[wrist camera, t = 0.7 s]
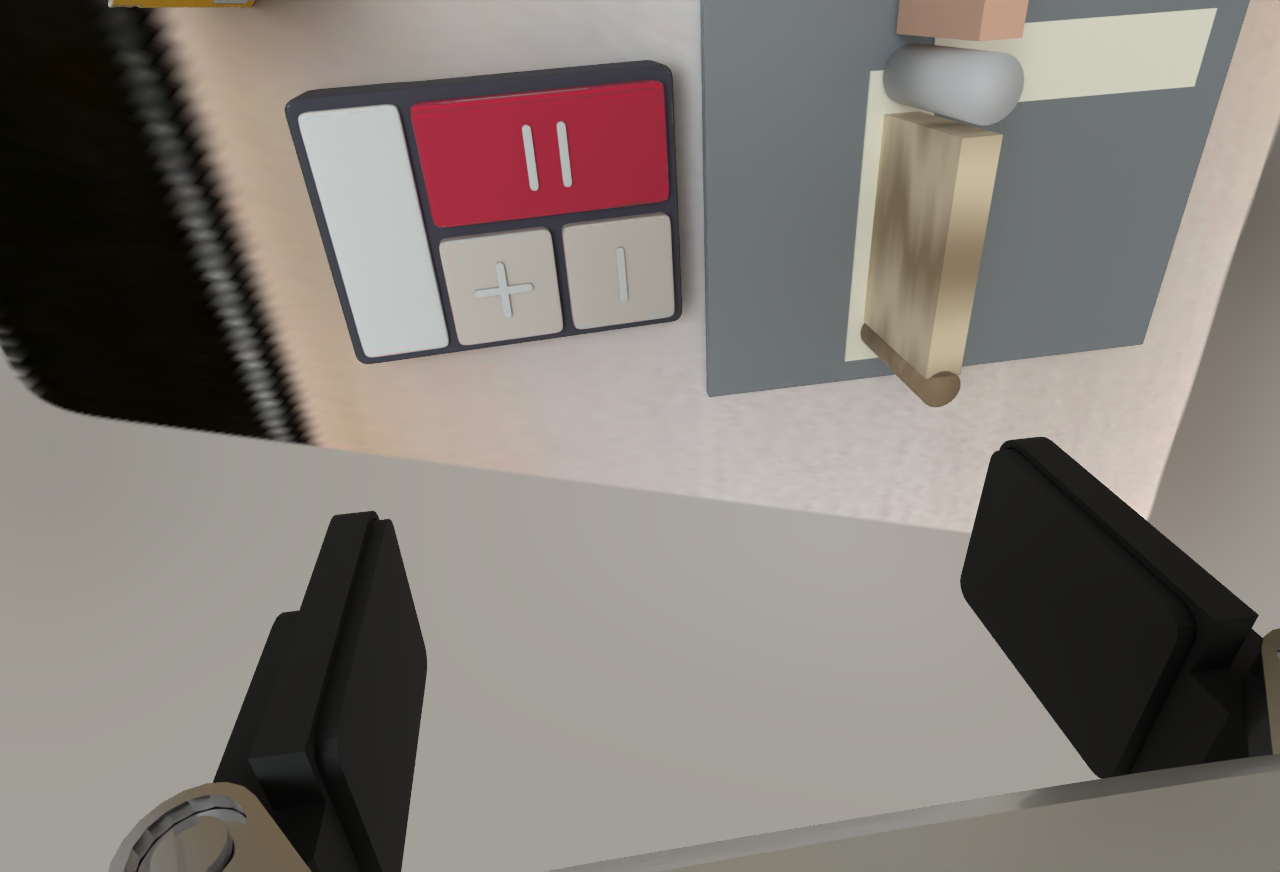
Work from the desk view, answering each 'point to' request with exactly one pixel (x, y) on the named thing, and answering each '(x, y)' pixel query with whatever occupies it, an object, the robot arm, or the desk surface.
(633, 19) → the desk surface
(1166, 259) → the mat
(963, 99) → the fence swing panel
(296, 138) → the calculator
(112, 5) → the crayon box
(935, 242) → the panel
